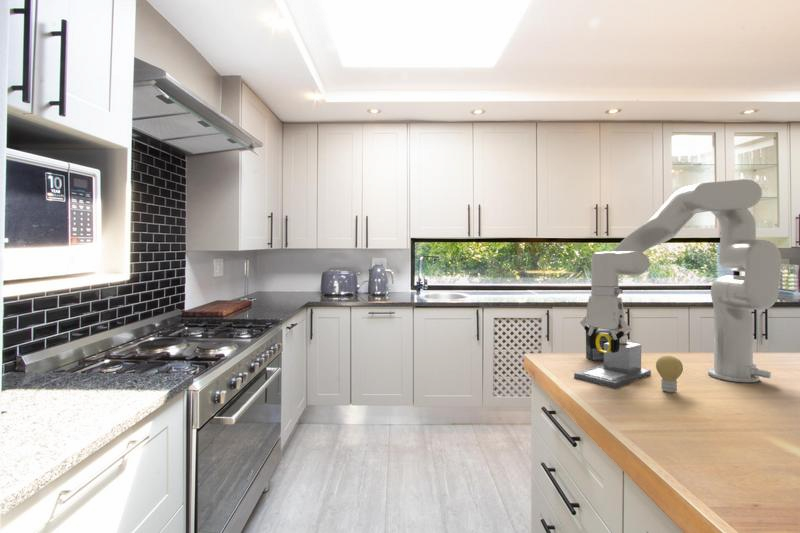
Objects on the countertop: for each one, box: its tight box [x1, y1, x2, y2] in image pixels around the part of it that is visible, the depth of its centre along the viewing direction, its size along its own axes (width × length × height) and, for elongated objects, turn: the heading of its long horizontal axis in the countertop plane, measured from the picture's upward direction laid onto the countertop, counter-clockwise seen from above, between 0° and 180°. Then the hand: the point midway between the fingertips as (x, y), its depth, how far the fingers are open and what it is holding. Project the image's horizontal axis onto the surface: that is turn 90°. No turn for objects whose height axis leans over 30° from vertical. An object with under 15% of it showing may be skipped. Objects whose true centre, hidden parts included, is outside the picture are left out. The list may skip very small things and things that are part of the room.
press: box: [573, 341, 652, 389], centre depth 134 cm, size 13×22×10 cm, turn 126°
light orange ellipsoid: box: [619, 328, 631, 345], centre depth 137 cm, size 4×4×8 cm
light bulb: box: [655, 355, 684, 394], centre depth 119 cm, size 6×6×10 cm
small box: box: [585, 329, 613, 362], centre depth 155 cm, size 11×6×10 cm, turn 84°
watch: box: [596, 333, 612, 353], centre depth 131 cm, size 6×3×6 cm, turn 17°
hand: (604, 349), depth 131 cm, fingers closed on watch, 5 cm apart
